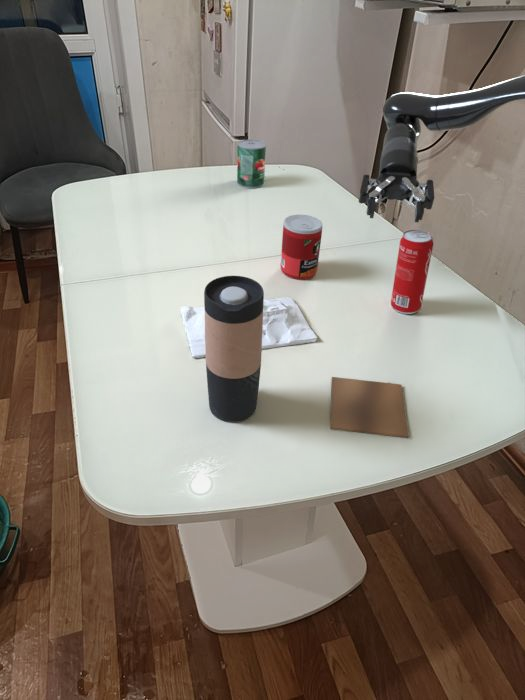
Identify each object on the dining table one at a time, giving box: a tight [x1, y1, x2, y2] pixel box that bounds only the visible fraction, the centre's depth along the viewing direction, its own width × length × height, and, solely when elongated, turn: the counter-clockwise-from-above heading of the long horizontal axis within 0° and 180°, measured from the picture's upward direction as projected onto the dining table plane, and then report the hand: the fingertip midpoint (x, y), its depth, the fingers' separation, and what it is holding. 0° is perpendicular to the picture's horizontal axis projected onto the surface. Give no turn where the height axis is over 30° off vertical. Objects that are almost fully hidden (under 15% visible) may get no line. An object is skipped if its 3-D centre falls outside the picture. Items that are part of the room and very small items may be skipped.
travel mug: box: [203, 275, 265, 423], centre depth 70 cm, size 8×8×20 cm
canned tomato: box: [236, 139, 267, 189], centre depth 143 cm, size 8×8×11 cm
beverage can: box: [390, 229, 434, 315], centre depth 94 cm, size 6×6×15 cm
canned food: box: [280, 214, 323, 280], centre depth 105 cm, size 8×8×11 cm
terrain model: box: [179, 296, 318, 359], centre depth 90 cm, size 17×23×5 cm
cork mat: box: [330, 376, 410, 439], centre depth 77 cm, size 11×11×1 cm
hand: (394, 216), depth 98 cm, fingers open, 8 cm apart
